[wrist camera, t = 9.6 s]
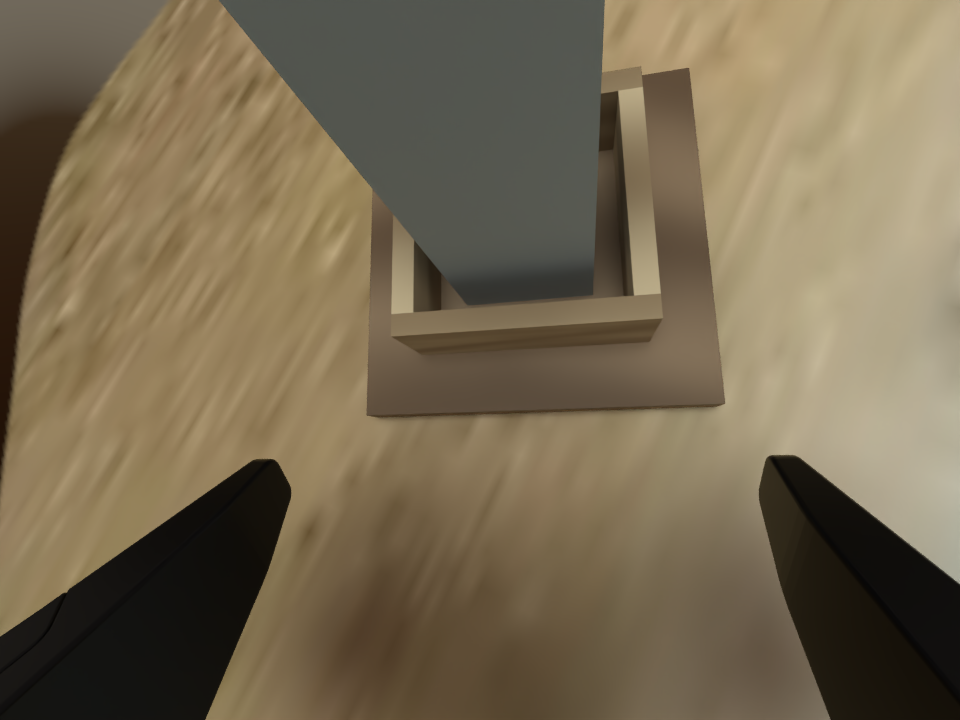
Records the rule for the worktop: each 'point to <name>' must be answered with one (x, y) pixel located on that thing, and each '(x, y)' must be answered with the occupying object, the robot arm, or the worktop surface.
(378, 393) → the pocket board
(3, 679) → the robot arm
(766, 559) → the worktop surface
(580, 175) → the slate peg
